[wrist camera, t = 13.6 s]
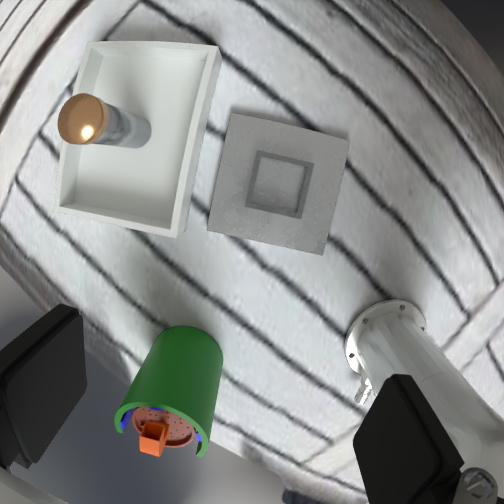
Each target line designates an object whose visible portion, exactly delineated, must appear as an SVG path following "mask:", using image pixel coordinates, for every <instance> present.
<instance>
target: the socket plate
mask: <svg viewBox="0 0 504 504" xmlns="http://www.w3.org/2000/svg"><path fill="white" fill-rule="evenodd" d="M349 144H350V141H348V140H345V139H341V138H338V137H334V136H331V135H327V134H323V133H320V132H316V131H312V130H308V129H304V128H300V127H296V126H292V125H288V124H284V123H279V122H275V121H270V120H266V119H261V118H256V117H251V116H246V115H241V114H235V113H231V116H230V121H229V125H228V130H227V134H226V138H225V143H224V148H223V152H222V157H221V161H220V166H219V171H218V176H217V180H216V185H215V190H214V195H213V200H212V205H211V210H210V216H209V221H208V226H207V231H212V232H217V233H221V234H226V235H231V236H235V237H240V238H245V239H249V240H254V241H258V242H263V243H268V244H272V245H277V246H281V247H286V248H291V249H295V250H300V251H304V252H309V253H313V254H318V255H323V251H324V248H325V244H326V240H327V236H328V233H329V229H330V225H331V221H332V217H333V213H334V209H335V205H336V201H337V197H338V193H339V189H340V184H341V180H342V176H343V171H344V167H345V163H346V158H347V154H348V149H349Z"/></svg>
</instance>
